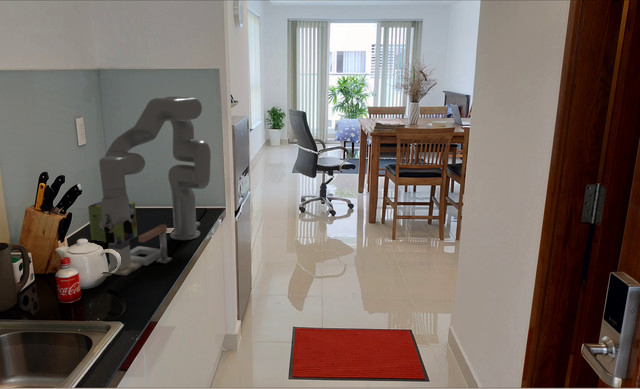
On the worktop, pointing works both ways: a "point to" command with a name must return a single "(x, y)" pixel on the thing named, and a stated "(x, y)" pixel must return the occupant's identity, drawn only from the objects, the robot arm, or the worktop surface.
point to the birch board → (126, 269)
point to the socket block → (151, 252)
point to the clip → (152, 233)
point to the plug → (124, 252)
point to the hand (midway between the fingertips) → (119, 237)
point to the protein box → (118, 230)
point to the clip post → (163, 249)
